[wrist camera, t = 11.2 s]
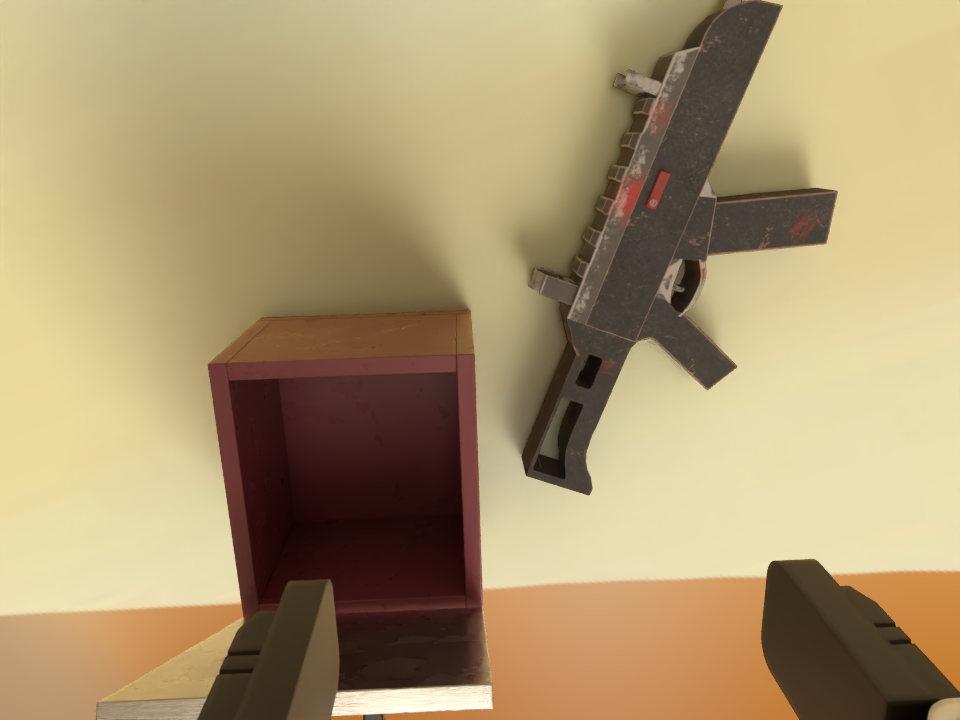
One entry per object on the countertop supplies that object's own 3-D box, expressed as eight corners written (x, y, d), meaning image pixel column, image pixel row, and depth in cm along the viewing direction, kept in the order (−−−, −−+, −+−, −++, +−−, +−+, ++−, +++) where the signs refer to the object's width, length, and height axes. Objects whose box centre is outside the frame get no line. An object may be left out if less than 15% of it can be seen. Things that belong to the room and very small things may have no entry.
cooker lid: (96, 702, 23) (87, 894, 22) (492, 683, 24) (500, 872, 23) (241, 617, 38) (239, 731, 37) (483, 606, 38) (487, 719, 37)
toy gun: (674, 502, 49) (465, 436, 47) (905, 26, 40) (663, -81, 38) (690, 529, 46) (466, 459, 43) (945, 16, 37) (684, -101, 35)
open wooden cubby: (260, 317, 44) (207, 363, 34) (470, 310, 44) (474, 353, 35) (285, 527, 48) (243, 620, 38) (477, 519, 48) (482, 609, 39)
